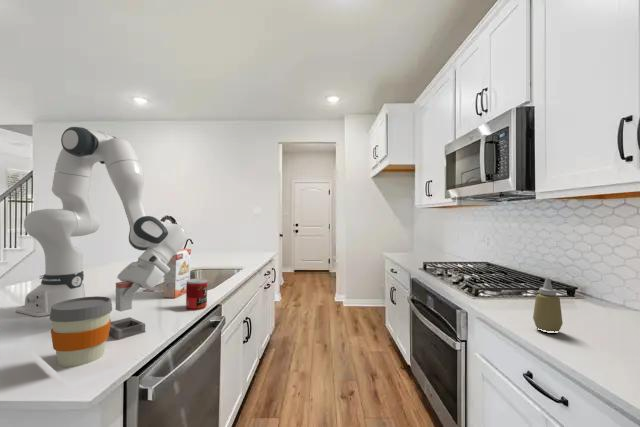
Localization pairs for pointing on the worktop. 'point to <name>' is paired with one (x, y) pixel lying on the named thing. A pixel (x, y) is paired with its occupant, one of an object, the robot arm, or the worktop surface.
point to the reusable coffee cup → (80, 329)
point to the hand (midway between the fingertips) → (121, 295)
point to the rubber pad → (121, 320)
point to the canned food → (196, 294)
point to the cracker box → (177, 274)
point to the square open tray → (126, 329)
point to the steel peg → (122, 301)
